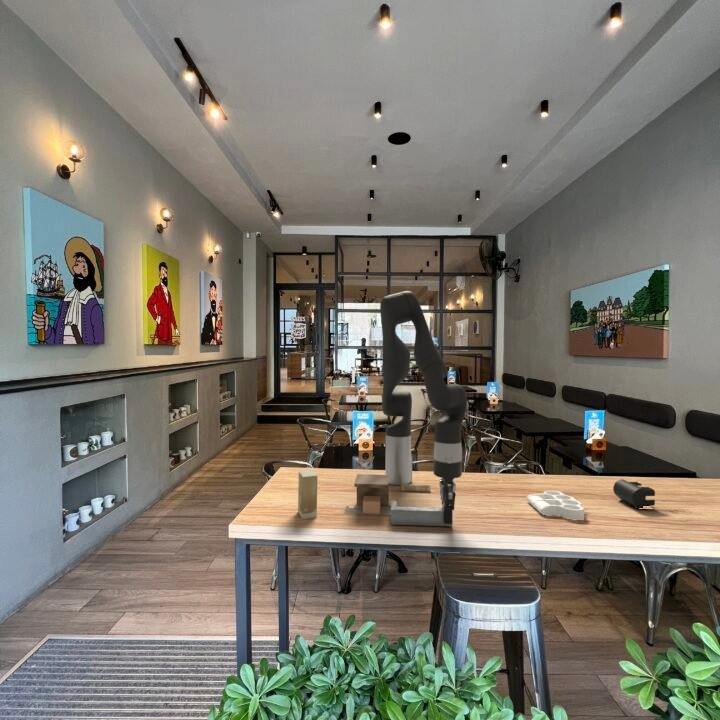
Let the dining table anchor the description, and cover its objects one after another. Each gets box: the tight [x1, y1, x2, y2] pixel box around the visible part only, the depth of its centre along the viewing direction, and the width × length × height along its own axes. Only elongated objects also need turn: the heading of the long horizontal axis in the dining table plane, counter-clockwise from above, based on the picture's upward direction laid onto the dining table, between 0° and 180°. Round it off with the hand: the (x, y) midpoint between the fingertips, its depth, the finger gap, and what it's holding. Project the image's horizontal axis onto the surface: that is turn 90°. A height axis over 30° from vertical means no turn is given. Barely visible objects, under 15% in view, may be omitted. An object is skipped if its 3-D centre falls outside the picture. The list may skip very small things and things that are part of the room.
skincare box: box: [297, 469, 318, 520], centre depth 124 cm, size 6×4×12 cm
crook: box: [390, 499, 454, 527], centre depth 119 cm, size 16×8×4 cm, turn 86°
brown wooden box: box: [353, 473, 390, 506], centre depth 129 cm, size 10×10×9 cm
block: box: [362, 496, 381, 515], centre depth 127 cm, size 5×5×4 cm
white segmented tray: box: [525, 490, 587, 519], centre depth 130 cm, size 3×18×15 cm
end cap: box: [613, 478, 656, 509], centre depth 135 cm, size 10×7×7 cm
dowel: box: [400, 483, 432, 493], centre depth 147 cm, size 10×2×2 cm
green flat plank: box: [343, 505, 391, 516], centre depth 127 cm, size 25×6×1 cm, turn 85°
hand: (447, 521), depth 116 cm, fingers closed on crook, 2 cm apart
